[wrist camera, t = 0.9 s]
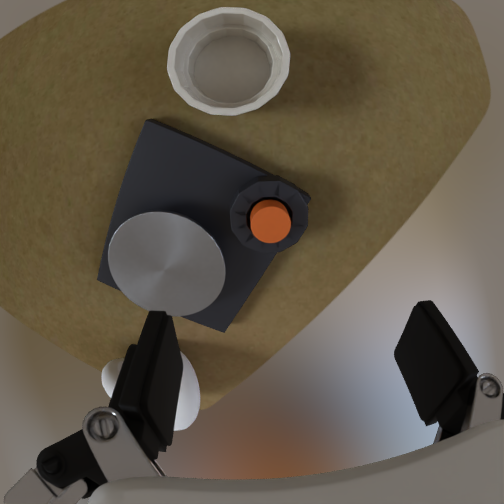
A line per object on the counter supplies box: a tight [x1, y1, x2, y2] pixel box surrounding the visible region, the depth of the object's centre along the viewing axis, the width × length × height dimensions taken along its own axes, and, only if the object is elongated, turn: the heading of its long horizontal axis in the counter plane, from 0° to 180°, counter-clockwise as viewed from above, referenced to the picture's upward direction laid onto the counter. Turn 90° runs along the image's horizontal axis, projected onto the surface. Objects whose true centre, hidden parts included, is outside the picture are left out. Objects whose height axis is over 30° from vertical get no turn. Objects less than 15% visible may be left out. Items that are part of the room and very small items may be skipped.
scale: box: [97, 119, 311, 332], centre depth 23 cm, size 16×14×3 cm
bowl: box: [167, 7, 290, 116], centre depth 16 cm, size 7×7×6 cm
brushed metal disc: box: [108, 210, 226, 316], centre depth 23 cm, size 10×10×1 cm
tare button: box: [250, 199, 291, 243], centre depth 21 cm, size 3×3×2 cm
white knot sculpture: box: [102, 351, 200, 431], centre depth 29 cm, size 11×12×9 cm
